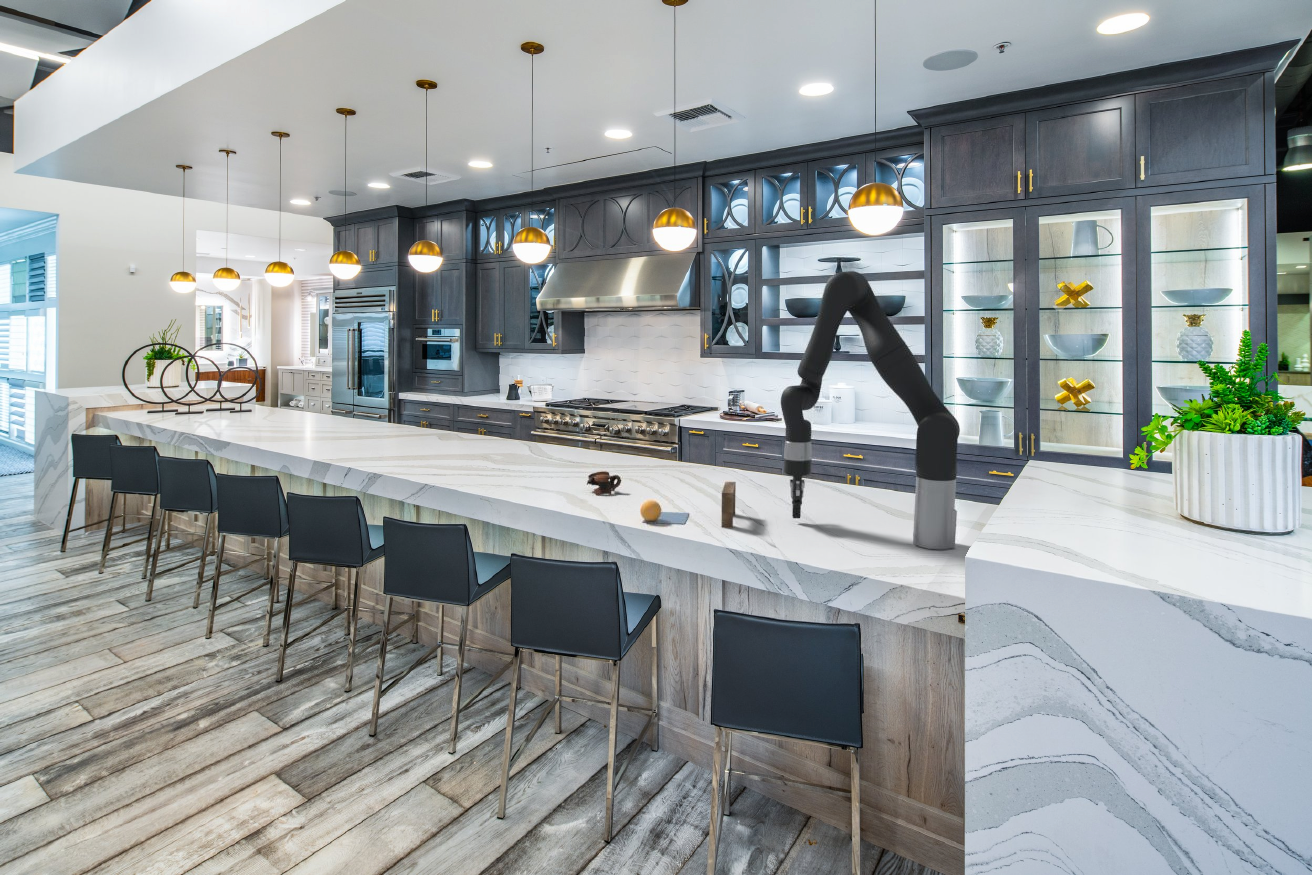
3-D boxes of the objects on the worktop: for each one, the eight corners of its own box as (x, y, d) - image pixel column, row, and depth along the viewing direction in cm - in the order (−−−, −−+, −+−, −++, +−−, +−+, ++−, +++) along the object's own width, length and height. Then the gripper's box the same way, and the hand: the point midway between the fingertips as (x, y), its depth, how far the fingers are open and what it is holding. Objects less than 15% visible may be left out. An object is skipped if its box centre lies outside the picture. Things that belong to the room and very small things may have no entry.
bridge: (735, 513, 203) (735, 481, 202) (732, 527, 188) (732, 493, 187) (725, 513, 204) (725, 481, 202) (721, 527, 189) (721, 492, 188)
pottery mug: (586, 497, 228) (582, 474, 231) (594, 503, 237) (590, 481, 240) (620, 488, 227) (616, 465, 230) (627, 495, 236) (623, 472, 238)
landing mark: (689, 513, 204) (689, 512, 204) (684, 524, 192) (684, 523, 192) (649, 512, 206) (649, 511, 206) (642, 522, 194) (642, 521, 194)
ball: (659, 496, 197) (639, 499, 198) (658, 502, 192) (637, 505, 192) (663, 515, 199) (643, 518, 199) (662, 522, 193) (641, 525, 193)
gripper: (813, 461, 183) (811, 524, 186) (810, 453, 196) (808, 512, 198) (784, 460, 184) (783, 523, 187) (783, 452, 197) (782, 511, 200)
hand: (796, 517), depth 193 cm, fingers closed
